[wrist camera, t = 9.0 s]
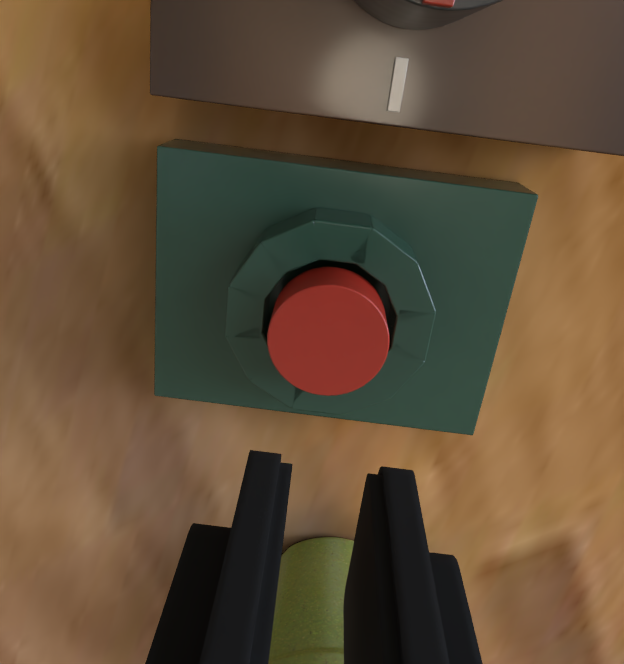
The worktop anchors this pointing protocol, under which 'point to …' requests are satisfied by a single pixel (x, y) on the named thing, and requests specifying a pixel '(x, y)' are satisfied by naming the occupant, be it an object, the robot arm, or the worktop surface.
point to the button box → (332, 251)
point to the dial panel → (405, 66)
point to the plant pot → (311, 603)
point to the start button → (328, 331)
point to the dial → (422, 11)
